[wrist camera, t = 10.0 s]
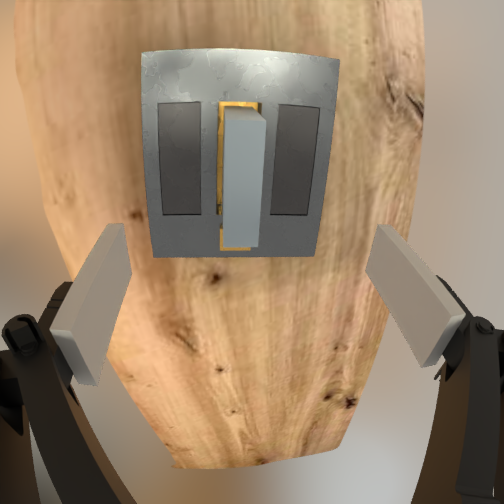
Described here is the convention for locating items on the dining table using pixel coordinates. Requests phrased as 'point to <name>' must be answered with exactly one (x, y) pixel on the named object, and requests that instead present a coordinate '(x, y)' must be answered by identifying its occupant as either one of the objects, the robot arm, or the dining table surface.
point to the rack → (211, 146)
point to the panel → (242, 175)
